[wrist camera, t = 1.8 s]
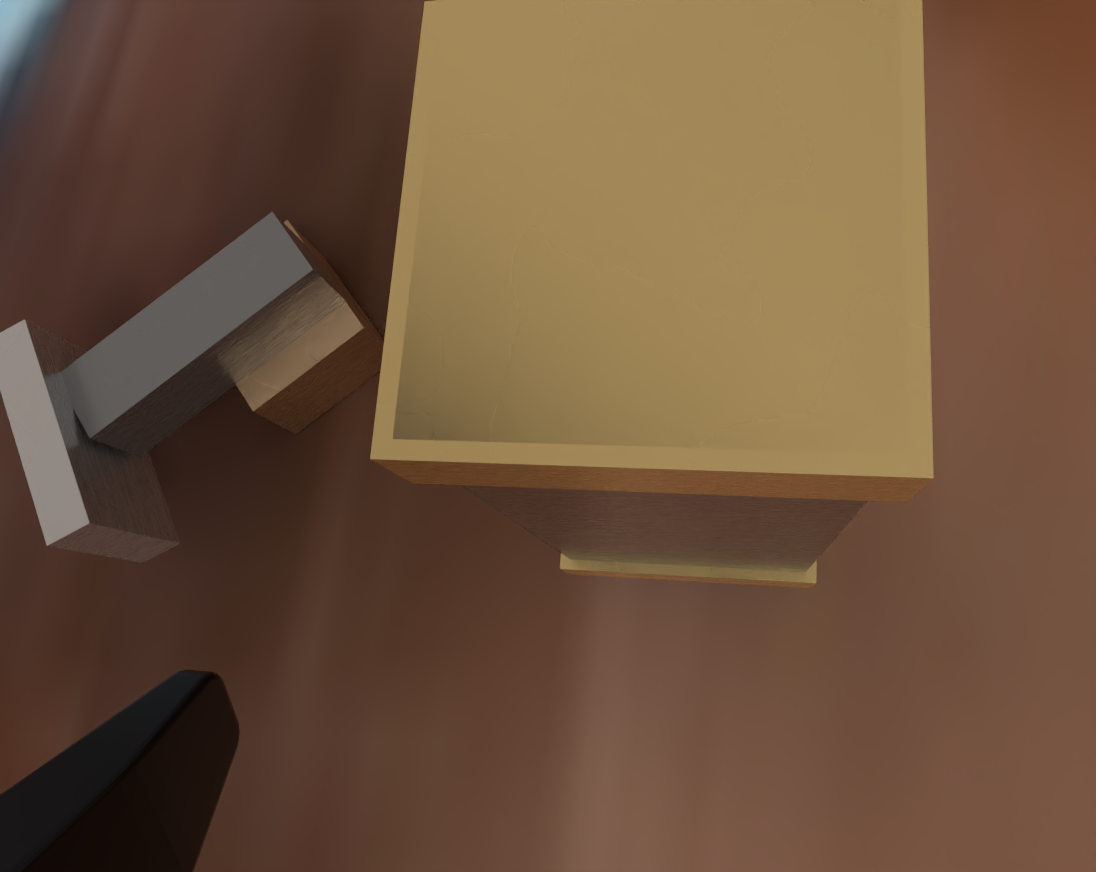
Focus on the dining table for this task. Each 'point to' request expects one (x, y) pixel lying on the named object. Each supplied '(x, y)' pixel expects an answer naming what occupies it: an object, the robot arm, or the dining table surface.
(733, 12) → the block
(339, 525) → the dining table surface
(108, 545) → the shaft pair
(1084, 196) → the dining table surface
